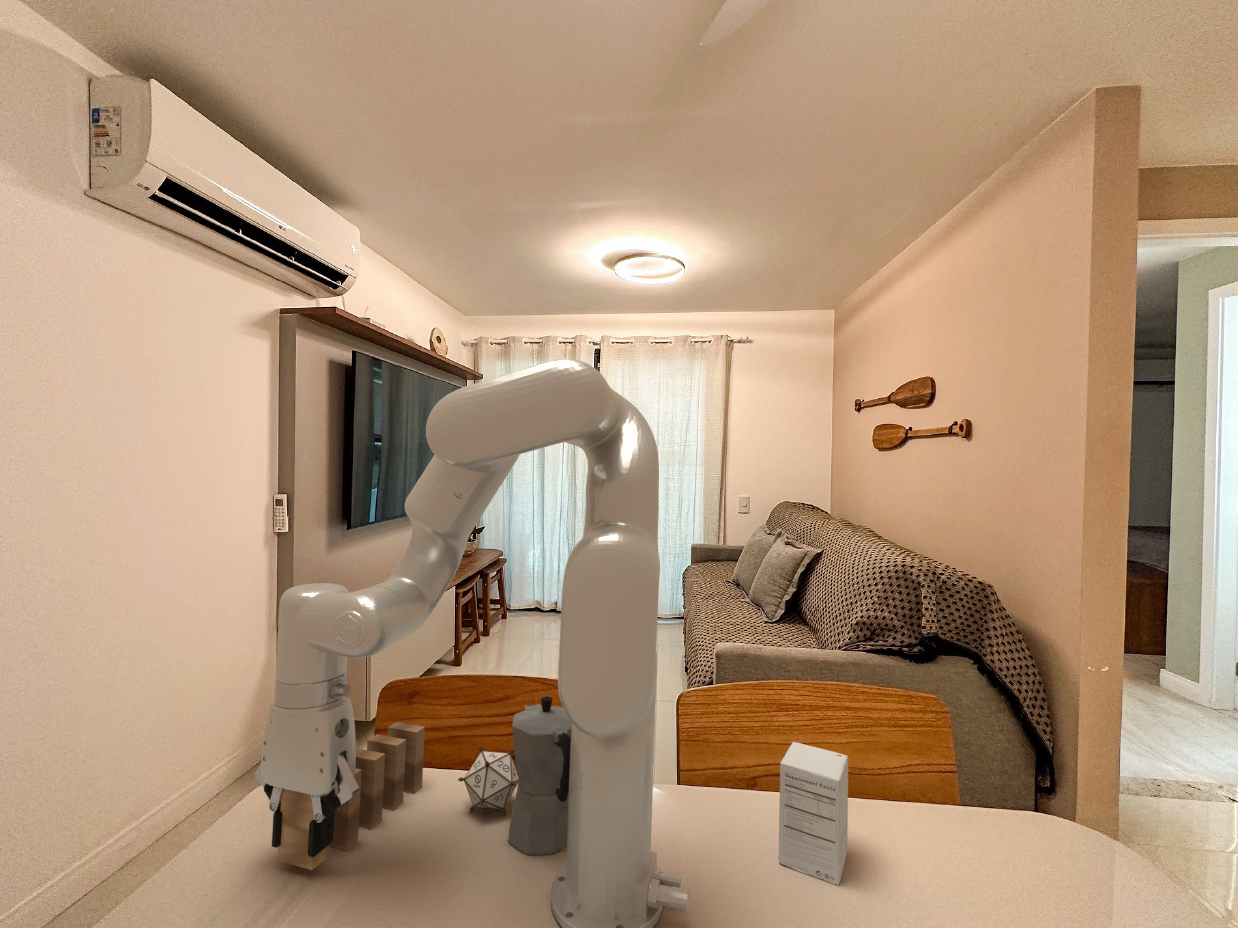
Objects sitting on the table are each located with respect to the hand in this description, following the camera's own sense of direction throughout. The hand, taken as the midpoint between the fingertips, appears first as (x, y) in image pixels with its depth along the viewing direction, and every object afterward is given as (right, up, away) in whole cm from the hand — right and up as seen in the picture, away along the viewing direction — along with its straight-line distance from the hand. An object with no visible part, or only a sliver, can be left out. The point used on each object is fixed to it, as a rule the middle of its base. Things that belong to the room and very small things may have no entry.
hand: (302, 843), depth 66 cm
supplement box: (+62, -6, +5) cm, 63 cm away
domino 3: (+3, -4, +10) cm, 10 cm away
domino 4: (+4, -4, +14) cm, 15 cm away
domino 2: (+1, -3, +5) cm, 6 cm away
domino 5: (+5, -4, +18) cm, 19 cm away
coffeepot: (+28, -4, +7) cm, 29 cm away
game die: (+19, -4, +14) cm, 24 cm away
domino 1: (0, -2, 0) cm, 2 cm away
